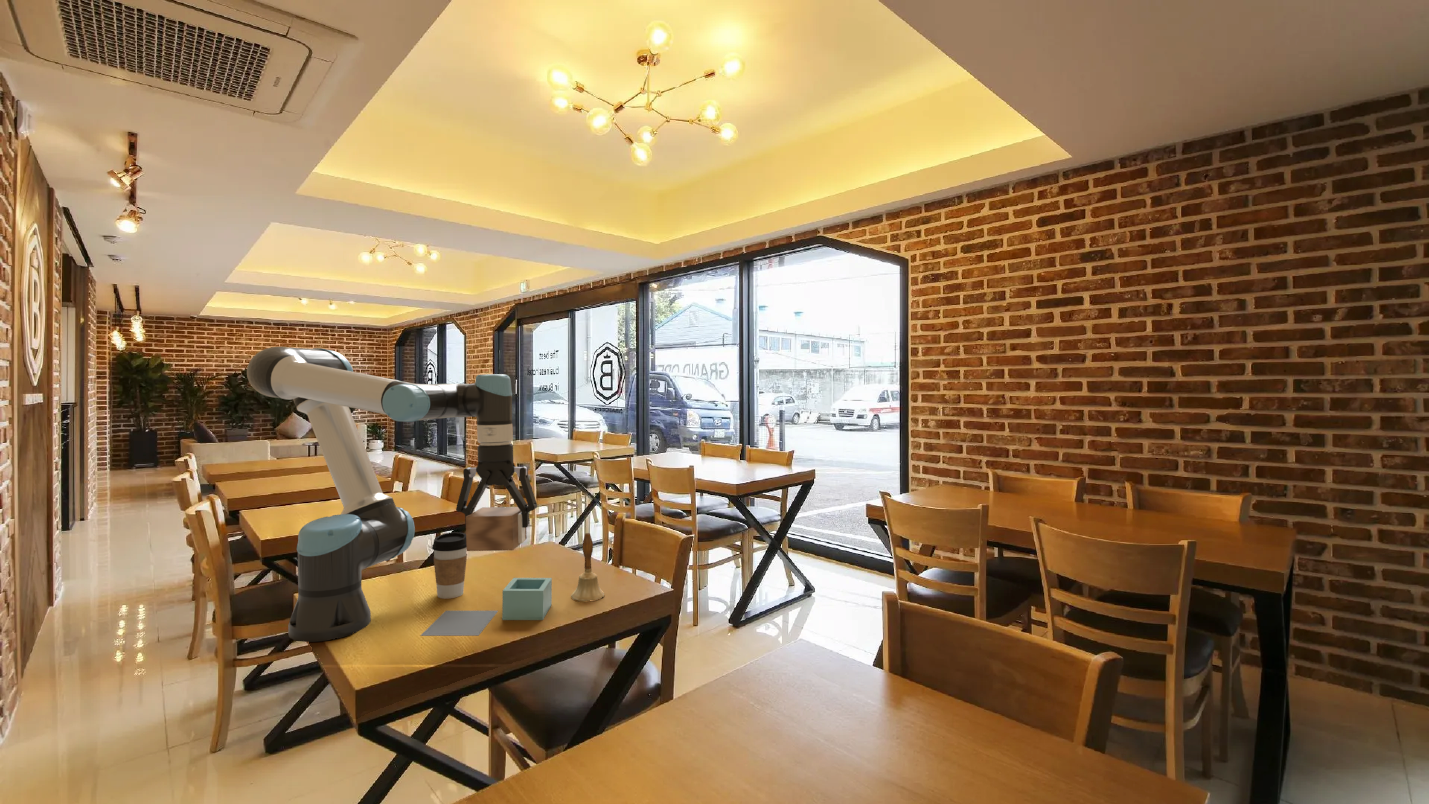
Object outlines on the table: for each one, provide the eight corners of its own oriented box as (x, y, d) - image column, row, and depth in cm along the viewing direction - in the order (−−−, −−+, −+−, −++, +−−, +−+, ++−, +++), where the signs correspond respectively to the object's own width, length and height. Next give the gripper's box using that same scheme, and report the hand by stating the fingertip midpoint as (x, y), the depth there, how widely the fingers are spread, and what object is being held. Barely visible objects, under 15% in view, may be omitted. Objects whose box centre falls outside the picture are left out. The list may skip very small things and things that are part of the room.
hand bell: (586, 604, 152) (587, 539, 151) (564, 596, 157) (564, 533, 156) (611, 595, 158) (612, 533, 158) (589, 588, 163) (590, 527, 163)
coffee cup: (474, 590, 160) (474, 532, 159) (457, 602, 151) (458, 541, 151) (443, 589, 161) (443, 531, 160) (424, 600, 152) (424, 539, 152)
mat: (420, 637, 131) (420, 635, 131) (445, 612, 145) (445, 610, 145) (478, 637, 132) (478, 635, 132) (498, 612, 146) (498, 610, 146)
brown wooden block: (466, 551, 135) (465, 516, 135) (483, 539, 145) (482, 507, 145) (513, 550, 135) (512, 515, 135) (526, 538, 145) (525, 506, 145)
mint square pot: (502, 621, 140) (502, 590, 140) (513, 606, 149) (513, 577, 149) (543, 621, 141) (543, 590, 140) (551, 606, 150) (551, 577, 149)
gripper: (437, 445, 136) (440, 547, 137) (541, 444, 136) (544, 545, 137) (451, 442, 143) (454, 539, 144) (550, 440, 144) (552, 537, 144)
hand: (497, 542), depth 140 cm, fingers closed on brown wooden block, 10 cm apart
